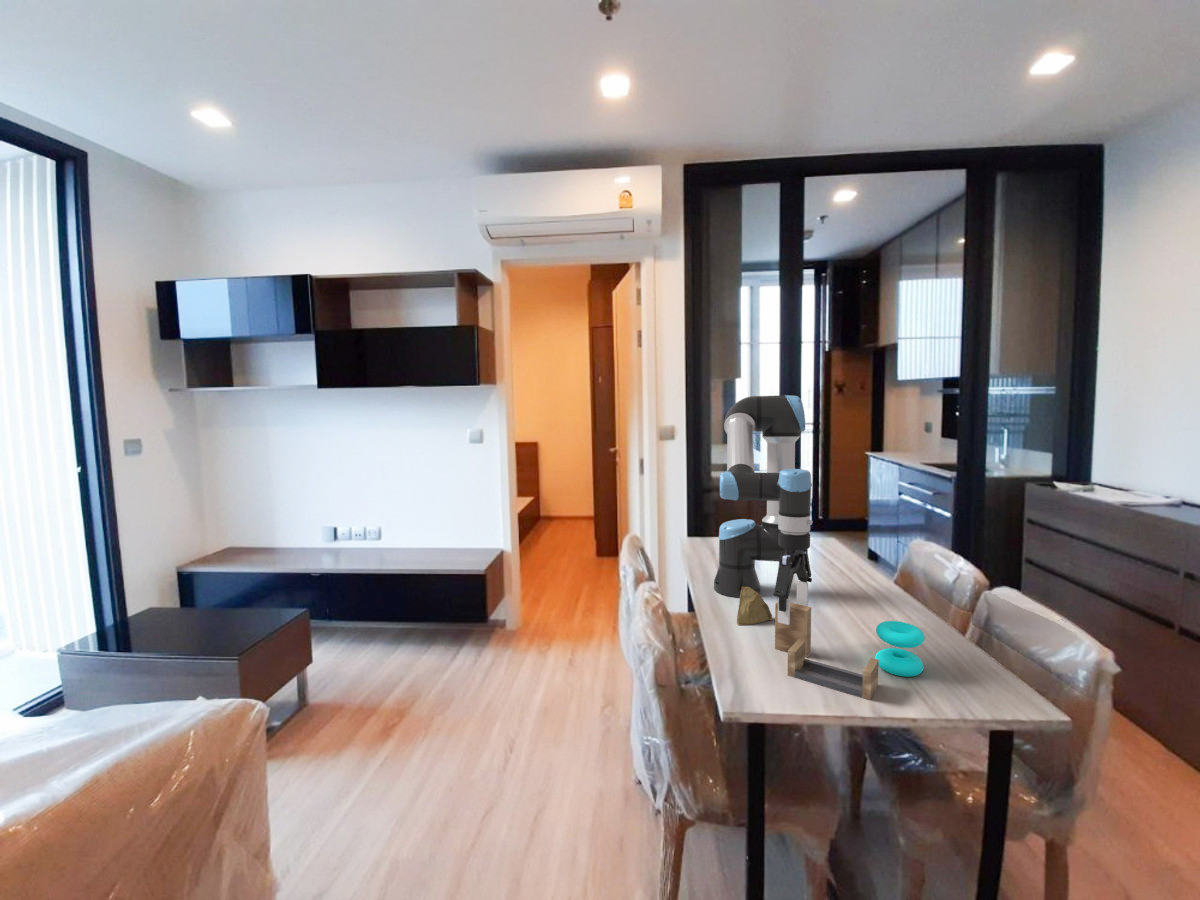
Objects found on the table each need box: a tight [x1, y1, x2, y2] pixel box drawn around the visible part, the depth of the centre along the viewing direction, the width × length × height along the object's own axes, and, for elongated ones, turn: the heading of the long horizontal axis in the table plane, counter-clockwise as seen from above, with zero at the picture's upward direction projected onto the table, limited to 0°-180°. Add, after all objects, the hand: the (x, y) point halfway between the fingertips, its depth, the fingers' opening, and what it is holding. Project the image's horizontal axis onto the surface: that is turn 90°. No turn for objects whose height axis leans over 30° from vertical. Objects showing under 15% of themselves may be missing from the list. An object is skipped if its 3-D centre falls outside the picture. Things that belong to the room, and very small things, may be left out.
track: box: [794, 658, 863, 699], centre depth 123 cm, size 14×7×2 cm, turn 52°
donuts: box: [874, 620, 925, 678], centre depth 128 cm, size 10×10×10 cm
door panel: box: [774, 601, 812, 659], centre depth 137 cm, size 8×3×12 cm, turn 52°
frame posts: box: [787, 639, 880, 701], centre depth 123 cm, size 18×7×6 cm, turn 52°
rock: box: [736, 586, 773, 626], centre depth 156 cm, size 11×9×10 cm
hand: (793, 614), depth 137 cm, fingers open, 13 cm apart
